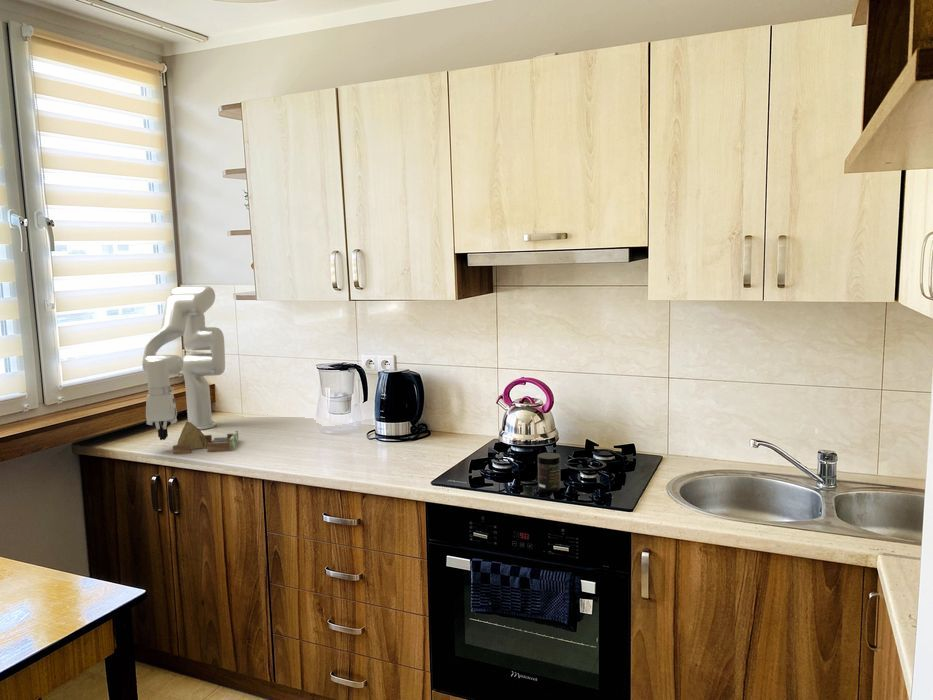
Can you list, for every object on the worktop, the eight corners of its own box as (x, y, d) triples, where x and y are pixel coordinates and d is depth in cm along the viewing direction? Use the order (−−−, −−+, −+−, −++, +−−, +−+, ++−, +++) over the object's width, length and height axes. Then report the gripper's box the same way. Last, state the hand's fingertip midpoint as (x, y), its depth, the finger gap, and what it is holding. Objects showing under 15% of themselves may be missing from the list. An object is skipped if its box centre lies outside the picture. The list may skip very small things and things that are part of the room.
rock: (216, 439, 273) (198, 433, 277) (206, 425, 267) (187, 419, 271) (197, 461, 266) (179, 454, 271) (186, 447, 261) (168, 441, 265)
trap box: (186, 440, 282) (185, 430, 281) (240, 436, 285) (240, 427, 284) (173, 454, 262) (172, 443, 261) (232, 450, 265) (231, 439, 265)
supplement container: (565, 488, 214) (564, 455, 213) (551, 494, 209) (551, 460, 208) (546, 484, 219) (546, 451, 217) (533, 489, 214) (533, 456, 212)
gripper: (182, 388, 270) (186, 435, 272) (141, 390, 268) (145, 437, 270) (178, 392, 262) (181, 440, 265) (135, 394, 260) (139, 442, 263)
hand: (163, 438), depth 267 cm, fingers closed
